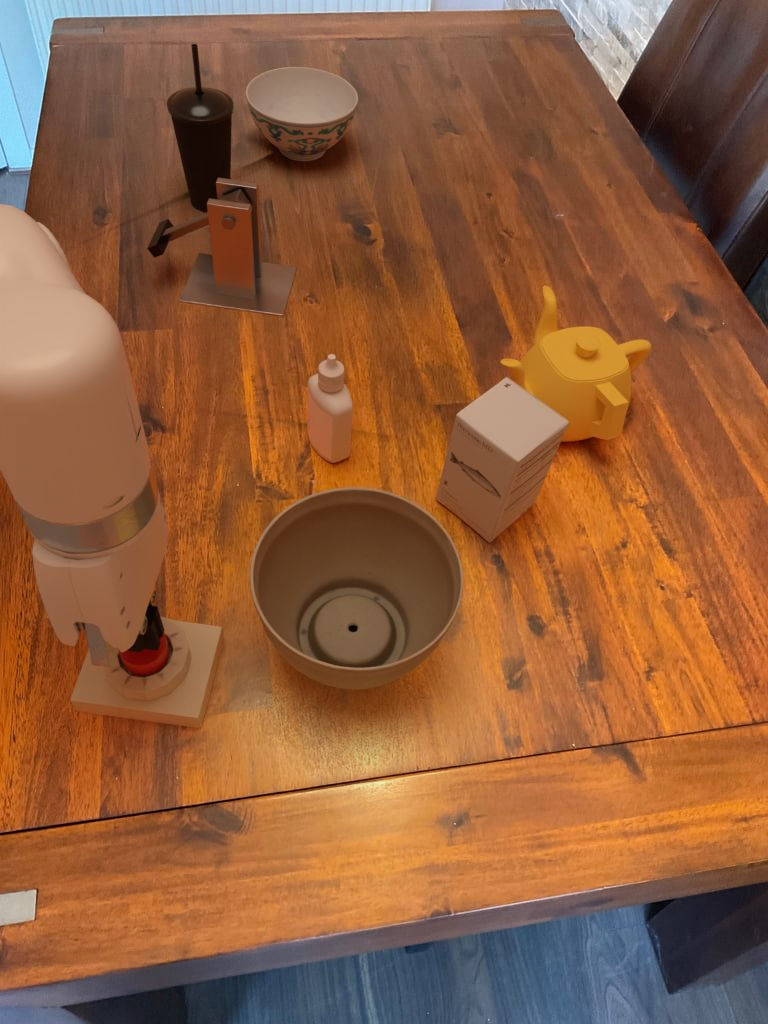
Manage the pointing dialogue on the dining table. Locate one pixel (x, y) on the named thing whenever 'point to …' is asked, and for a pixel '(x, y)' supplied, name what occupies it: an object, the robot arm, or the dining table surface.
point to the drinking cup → (202, 136)
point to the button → (146, 659)
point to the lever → (186, 226)
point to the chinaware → (301, 109)
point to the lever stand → (237, 259)
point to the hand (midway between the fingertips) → (141, 638)
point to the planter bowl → (355, 585)
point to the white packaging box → (499, 457)
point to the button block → (157, 680)
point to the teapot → (579, 374)
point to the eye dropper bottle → (329, 411)
